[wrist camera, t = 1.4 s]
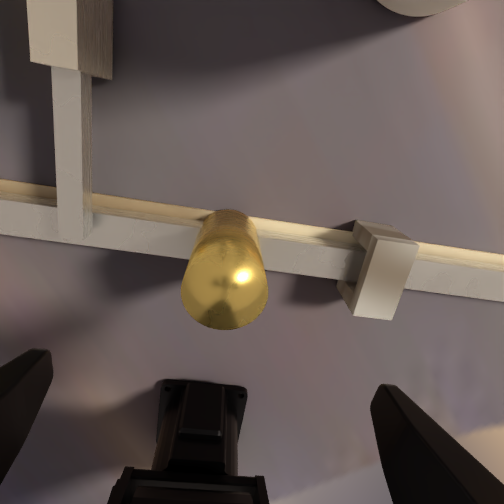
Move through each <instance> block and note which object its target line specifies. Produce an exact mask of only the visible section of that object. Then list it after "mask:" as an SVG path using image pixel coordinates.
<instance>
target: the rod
mask: <svg viewBox="0 0 504 504" xmlns="http://www.w3.org/2000/svg"><path fill="white" fill-rule="evenodd" d="M27 15H28V30H29V46H30V61H31V62H34V63H38V64H42V65H46V66H50V67H51V73H52V96H53V118H54V140H55V163H56V185H57V200H55V199H48V198H42V197H35V196H28V195H21V194H14V193H8V192H1V191H0V234H4V235H11V236H19V237H26V238H33V239H41V240H48V241H56V242H63V243H71V244H78V245H85V246H93V247H100V248H108V249H115V250H123V251H130V252H137V253H145V254H152V255H160V256H167V257H175V258H182V259H189V262H188V265H187V268H186V272H185V275H184V278H183V281H182V285H181V298H182V302H183V304H184V307H185V308H186V310H187V312H188V313H189V314H190V315H191V316H192V317H193V318H194V319H195V320H196V321H197V322H199V323H201V324H202V325H204V326H207V327H210V328H213V329H218V330H231V329H236V328H240V327H243V326H245V325H247V324H249V323H251V322H252V321H253V320H255V319H256V318H257V317H258V316H259V315H260V313H261V312H262V311H263V309H264V307H265V305H266V302H267V299H268V285H267V280H266V274H265V270H271V271H278V272H286V273H293V274H301V275H308V276H316V277H323V278H330V279H338V280H345V281H353V282H357V281H358V278H359V275H360V272H361V269H362V265H363V262H364V259H365V256H366V253H367V250H366V249H365V248H364V247H363V246H362V245H361V244H354V243H347V242H340V241H334V240H327V239H320V238H313V237H306V236H300V235H293V234H286V233H279V232H272V231H266V230H259V229H256V227H255V225H254V223H253V222H252V220H251V219H250V218H249V217H248V216H246V215H245V214H243V213H241V212H239V211H236V210H229V209H227V210H219V211H216V212H214V213H212V214H210V215H209V216H208V217H206V218H205V220H204V221H198V220H191V219H184V218H177V217H171V216H164V215H157V214H150V213H143V212H137V211H130V210H123V209H116V208H109V207H103V206H96V205H92V76H93V77H98V78H104V79H109V80H112V58H113V0H27ZM404 288H405V289H412V290H420V291H427V292H434V293H442V294H449V295H457V296H464V297H472V298H479V299H486V300H494V301H501V302H504V266H503V265H497V264H490V263H483V262H476V261H469V260H463V259H456V258H449V257H442V256H435V255H429V254H422V253H417V255H416V257H415V260H414V263H413V265H412V268H411V271H410V273H409V276H408V278H407V281H406V284H405V286H404Z"/></svg>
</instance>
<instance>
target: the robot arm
mask: <svg viewBox="0 0 504 504" xmlns="http://www.w3.org/2000/svg"><path fill="white" fill-rule="evenodd" d="M52 379H53V365H52V357H51V352H50V351H49V350H47V349H37V348H33V349H30V350H28V351H27V352H25V353H23V354H22V355H20V356H18V357H17V358H15V359H13V360H12V361H10V362H8V363H7V364H5V365H3V366H2V367H0V485H1V483H2V481H3V479H4V478H5V476H6V474H7V472H8V471H9V469H10V467H11V465H12V463H13V462H14V460H15V458H16V456H17V455H18V453H19V451H20V449H21V448H22V446H23V444H24V442H25V440H26V438H27V436H28V434H29V431H30V429H31V427H32V425H33V423H34V420H35V418H36V416H37V413H38V411H39V409H40V407H41V404H42V402H43V400H44V398H45V395H46V393H47V391H48V389H49V386H50V384H51V382H52ZM167 386H168V387H170V388H168V387H167ZM240 393H242V394H241V395H240ZM247 397H248V396H247V389H246V388H244V387H237V386H227V385H217V384H206V383H196V382H186V381H175V380H166V381H164V382H163V383H162V386H161V393H160V404H159V415H158V426H157V438H156V443H157V446H156V451H155V455H154V459H153V463H152V468H151V470H145V469H134V467H125V468H124V471H123V473H122V475H121V478H120V479H118V480H117V482H116V484H115V486H113V488H112V491H111V494H110V497H109V500H108V503H107V504H269V500H268V495H267V490H266V485H265V479H264V476H257V475H255V477H247V476H238V451H237V443H238V439H239V434H240V429H241V425H242V420H243V415H244V411H245V406H246V401H247ZM370 411H371V416H372V421H373V426H374V431H375V436H376V441H377V445H378V450H379V455H380V460H381V464H382V468H383V472H384V475H385V478H386V482H387V485H388V488H389V492H390V495H391V498H392V501H393V504H504V484H502V483H501V482H500V481H499V480H498V479H497V478H496V477H495V476H494V475H493V474H492V473H491V472H489V471H488V470H487V469H486V468H485V467H484V466H483V465H482V464H481V463H479V461H477V460H476V459H475V458H474V457H473V456H472V455H471V454H470V453H469V452H468V451H467V450H465V449H464V448H463V447H462V446H461V445H460V444H459V443H458V442H457V441H456V440H455V439H454V438H452V437H451V436H450V435H449V434H448V433H447V432H446V431H445V430H444V429H443V428H442V427H441V426H439V425H438V424H437V423H436V422H435V421H434V420H433V419H432V418H431V417H430V416H429V415H427V414H426V413H425V412H424V411H423V410H422V409H421V408H420V407H419V406H418V405H417V404H416V403H414V402H413V401H412V400H411V399H410V398H409V397H408V396H407V395H406V394H405V393H404V392H402V391H401V390H400V389H399V388H398V387H397V386H395V385H390V384H381V385H380V386H379V387H378V389H377V391H376V393H375V395H374V398H373V400H372V402H371V406H370Z"/></svg>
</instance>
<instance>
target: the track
mask: <svg viewBox="0 0 504 504" xmlns="http://www.w3.org/2000/svg"><path fill="white" fill-rule="evenodd" d="M0 191H1V192H8V193H14V194H21V195H28V196H35V197H42V198H48V199H55V200H57V187H52V186H45V185H39V184H32V183H26V182H19V181H12V180H6V179H0ZM92 205H96V206H103V207H109V208H116V209H123V210H130V211H137V212H143V213H150V214H157V215H164V216H171V217H177V218H184V219H191V220H198V221H204V220H205V218H206V217H208V216H209V215H210V214H212V213H214V212H216V211H211V210H204V209H198V208H191V207H184V206H178V205H171V204H165V203H158V202H151V201H145V200H138V199H131V198H125V197H118V196H112V195H105V194H98V193H92ZM248 217H249V218H250V219H251V220H252V222H253V223H254V225H255V227H256V229H259V230H266V231H272V232H279V233H286V234H293V235H300V236H306V237H313V238H320V239H327V240H334V241H340V242H347V243H354V244H361V245H362V246H363V247H364V248H365V249H366V250H367V253H366V256H365V259H364V262H363V265H362V269H361V272H360V275H359V278H358V281H357V282H353V281H345V280H338V282H337V285H336V287H337V289H338V291H339V292H340V294H341V296H342V298H343V299H344V301H345V303H346V304H347V306H348V308H349V309H350V311H351V313H352V314H353V316H361V317H369V318H377V319H385V320H392V318H393V316H394V313H395V310H396V308H397V305H398V302H399V300H400V297H401V294H402V292H403V289H404V286H405V284H406V281H407V278H408V276H409V273H410V271H411V268H412V265H413V263H414V260H415V257H416V255H417V253H422V254H429V255H435V256H442V257H449V258H456V259H463V260H469V261H476V262H483V263H490V264H497V265H503V266H504V255H502V254H496V253H489V252H482V251H476V250H469V249H463V248H456V247H449V246H443V245H436V244H429V243H423V242H416V241H413V240H411V239H410V238H408V237H407V236H405V235H404V234H403V233H401V232H400V231H398V230H397V229H396V228H394V227H393V226H391V225H385V224H378V223H372V222H366V221H359V220H356V221H355V224H354V227H353V231H352V232H350V231H343V230H337V229H330V228H324V227H317V226H310V225H304V224H297V223H290V222H284V221H277V220H271V219H264V218H257V217H251V216H248Z"/></svg>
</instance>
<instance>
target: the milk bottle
mask: <svg viewBox="0 0 504 504" xmlns="http://www.w3.org/2000/svg"><path fill="white" fill-rule="evenodd" d="M377 1H378V2H379V3H380V4H382V5H383V6H385V7H386V8H388V9H390V10H391V11H393V12H396V13H399V14H402V15H406V16H413V17H422V16H430V15H434V14H438V13H441V12H443V11H446V10H448V9H450V8H453V7H455V6H457V5H460V4H462V3H464V2H466V1H468V0H377Z"/></svg>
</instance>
